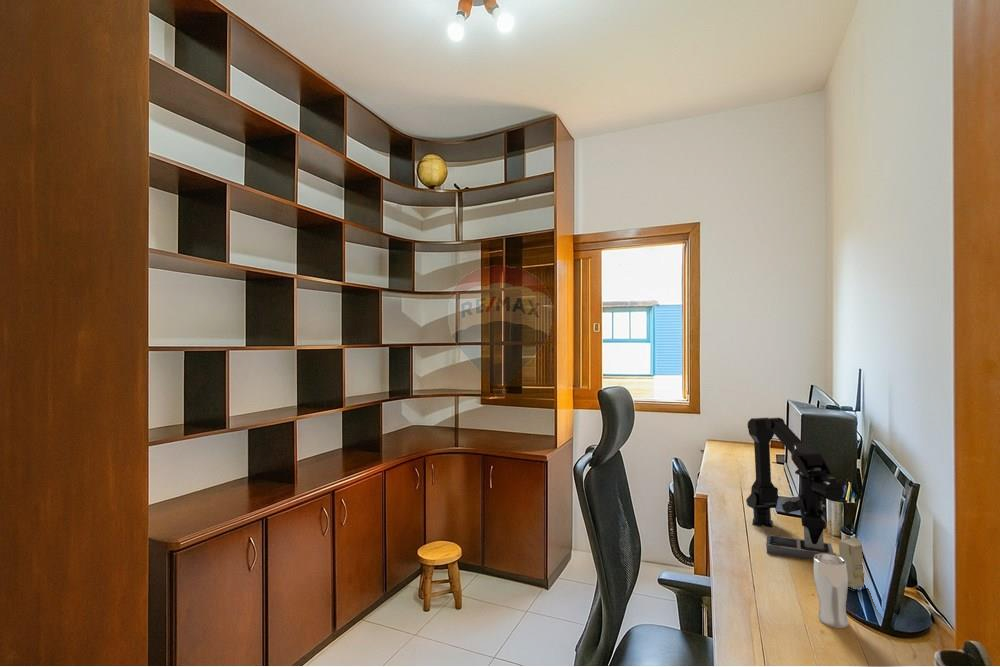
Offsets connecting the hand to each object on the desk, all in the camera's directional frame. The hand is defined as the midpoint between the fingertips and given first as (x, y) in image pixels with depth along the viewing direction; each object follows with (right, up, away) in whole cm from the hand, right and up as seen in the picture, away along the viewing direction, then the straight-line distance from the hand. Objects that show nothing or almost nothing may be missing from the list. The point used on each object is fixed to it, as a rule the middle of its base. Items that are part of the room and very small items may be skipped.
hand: (813, 540), depth 152 cm
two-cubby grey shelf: (-3, -5, +2) cm, 6 cm away
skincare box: (-1, -4, -20) cm, 21 cm away
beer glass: (-19, -4, -36) cm, 40 cm away
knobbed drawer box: (0, -2, 0) cm, 2 cm away
